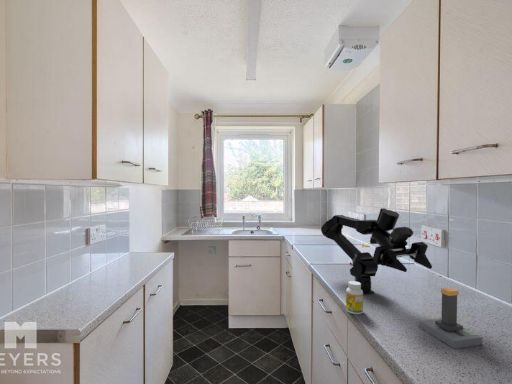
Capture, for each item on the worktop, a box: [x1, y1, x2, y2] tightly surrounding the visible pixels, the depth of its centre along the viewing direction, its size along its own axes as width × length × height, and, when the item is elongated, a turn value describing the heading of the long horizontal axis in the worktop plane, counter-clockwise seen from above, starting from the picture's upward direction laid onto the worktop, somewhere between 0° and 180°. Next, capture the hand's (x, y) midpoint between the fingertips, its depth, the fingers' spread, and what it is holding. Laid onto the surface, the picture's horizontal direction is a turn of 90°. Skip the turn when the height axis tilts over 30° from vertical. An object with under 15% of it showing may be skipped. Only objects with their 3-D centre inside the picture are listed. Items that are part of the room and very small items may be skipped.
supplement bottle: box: [345, 280, 364, 315], centre depth 89 cm, size 5×5×10 cm
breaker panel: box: [419, 317, 483, 349], centre depth 75 cm, size 11×9×2 cm
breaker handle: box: [435, 287, 464, 331], centre depth 75 cm, size 4×5×11 cm
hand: (418, 269), depth 83 cm, fingers open, 9 cm apart
